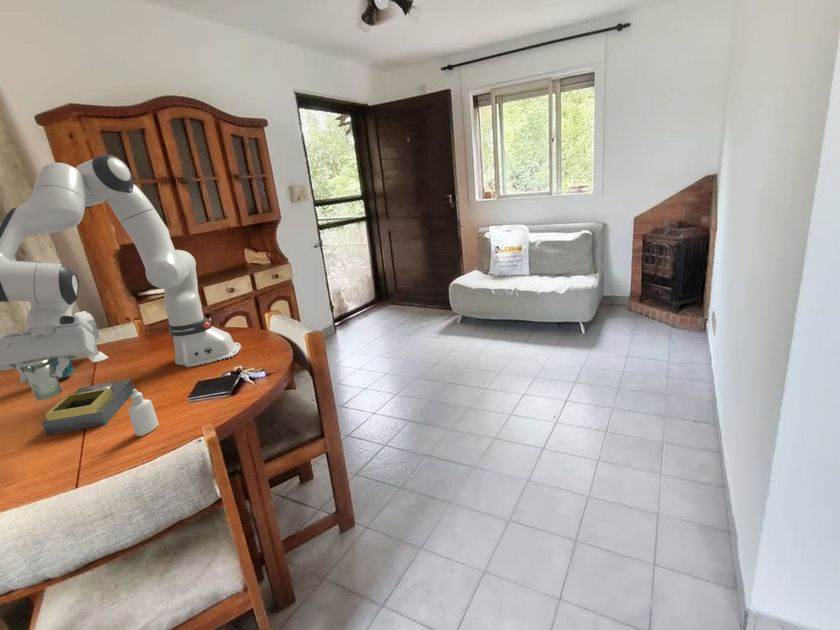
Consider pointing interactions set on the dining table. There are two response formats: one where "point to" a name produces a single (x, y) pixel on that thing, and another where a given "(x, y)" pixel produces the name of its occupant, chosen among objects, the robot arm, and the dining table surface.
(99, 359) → the white angular piece
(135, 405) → the eye dropper bottle
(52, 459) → the dining table surface
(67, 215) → the robot arm
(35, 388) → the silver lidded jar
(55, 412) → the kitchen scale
